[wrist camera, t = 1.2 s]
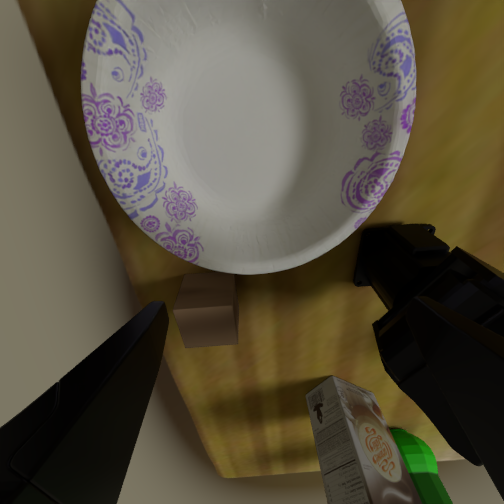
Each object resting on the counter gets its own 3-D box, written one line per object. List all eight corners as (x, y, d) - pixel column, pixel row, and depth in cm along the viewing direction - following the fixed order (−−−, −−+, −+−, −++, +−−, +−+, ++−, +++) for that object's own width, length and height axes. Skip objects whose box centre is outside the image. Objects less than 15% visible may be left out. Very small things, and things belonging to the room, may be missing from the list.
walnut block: (238, 306, 27) (238, 344, 23) (194, 309, 27) (185, 348, 23) (233, 270, 25) (232, 305, 20) (184, 274, 25) (172, 309, 20)
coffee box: (375, 391, 37) (451, 559, 24) (345, 410, 40) (398, 570, 26) (331, 373, 34) (389, 552, 21) (302, 395, 37) (337, 565, 23)
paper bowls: (372, 178, 20) (438, 216, 13) (213, 249, 23) (201, 310, 16) (315, -86, 13) (397, -300, 6) (92, 71, 16) (-20, 48, 9)
